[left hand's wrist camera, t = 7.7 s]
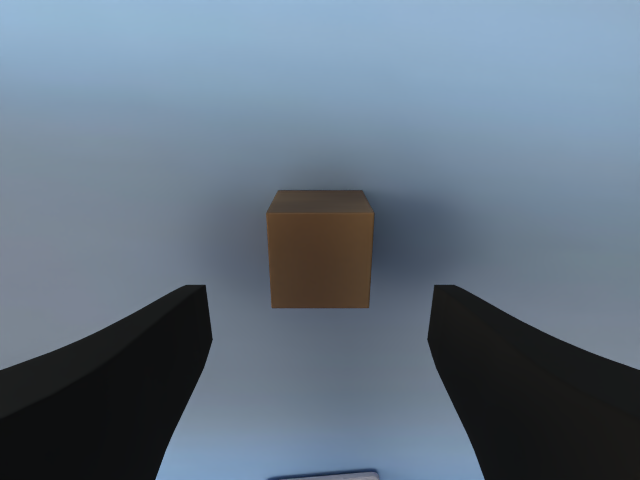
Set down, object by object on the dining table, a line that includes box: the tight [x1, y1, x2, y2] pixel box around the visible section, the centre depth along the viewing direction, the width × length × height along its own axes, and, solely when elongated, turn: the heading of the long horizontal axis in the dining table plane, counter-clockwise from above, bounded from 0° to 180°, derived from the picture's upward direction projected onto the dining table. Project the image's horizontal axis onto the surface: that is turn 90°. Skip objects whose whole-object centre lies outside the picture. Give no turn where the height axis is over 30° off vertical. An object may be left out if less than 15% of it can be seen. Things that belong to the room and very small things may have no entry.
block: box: [266, 190, 374, 308], centre depth 16 cm, size 4×4×4 cm
